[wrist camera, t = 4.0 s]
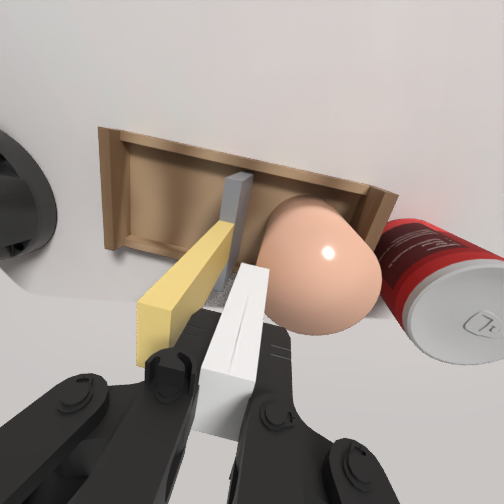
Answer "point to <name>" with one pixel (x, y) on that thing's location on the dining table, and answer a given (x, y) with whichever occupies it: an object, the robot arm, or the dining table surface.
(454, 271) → the canned food
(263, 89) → the dining table surface
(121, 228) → the brown wooden tray
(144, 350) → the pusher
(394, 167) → the dining table surface
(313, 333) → the peach rounded capsule
